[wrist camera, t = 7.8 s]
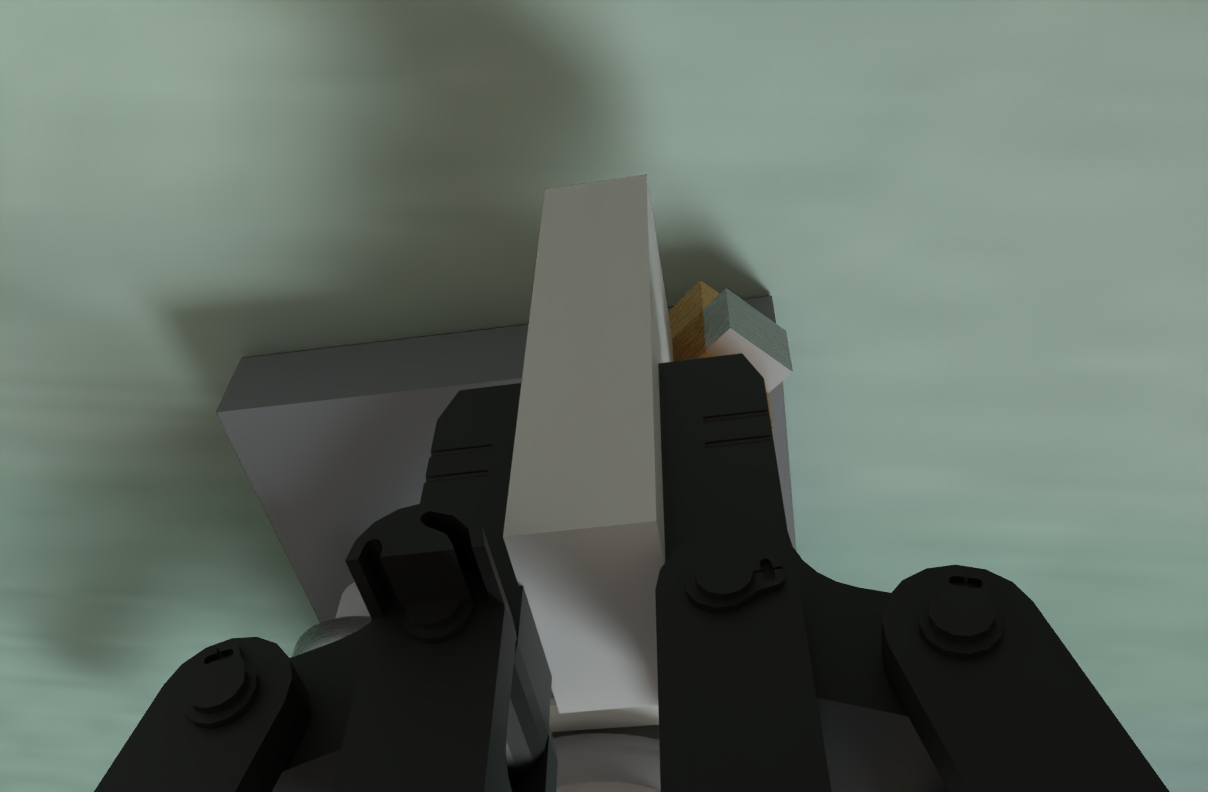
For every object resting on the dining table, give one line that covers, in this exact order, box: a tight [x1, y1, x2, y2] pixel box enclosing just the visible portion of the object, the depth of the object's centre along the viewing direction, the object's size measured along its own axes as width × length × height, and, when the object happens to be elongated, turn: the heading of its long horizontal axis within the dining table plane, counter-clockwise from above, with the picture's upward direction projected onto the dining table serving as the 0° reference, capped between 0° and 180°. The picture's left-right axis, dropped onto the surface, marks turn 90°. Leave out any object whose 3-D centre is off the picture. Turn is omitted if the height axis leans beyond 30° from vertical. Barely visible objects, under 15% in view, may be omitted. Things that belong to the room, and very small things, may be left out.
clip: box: [292, 280, 793, 657], centre depth 21 cm, size 3×20×3 cm, turn 142°
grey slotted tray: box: [216, 296, 796, 732], centre depth 27 cm, size 10×26×3 cm, turn 9°
